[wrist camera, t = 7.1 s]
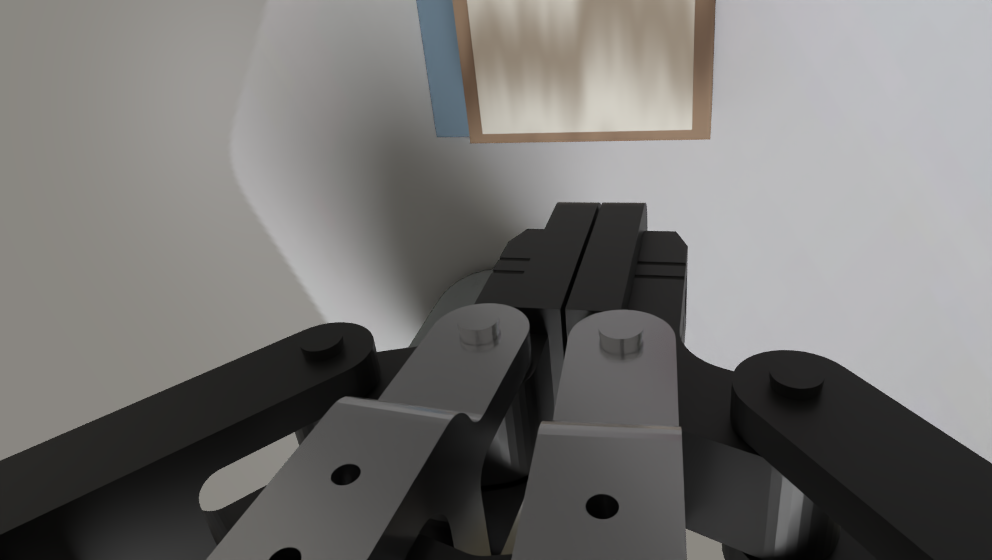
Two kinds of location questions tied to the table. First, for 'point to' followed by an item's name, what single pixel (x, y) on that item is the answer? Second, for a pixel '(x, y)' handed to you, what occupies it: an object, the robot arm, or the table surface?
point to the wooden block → (586, 69)
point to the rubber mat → (443, 67)
